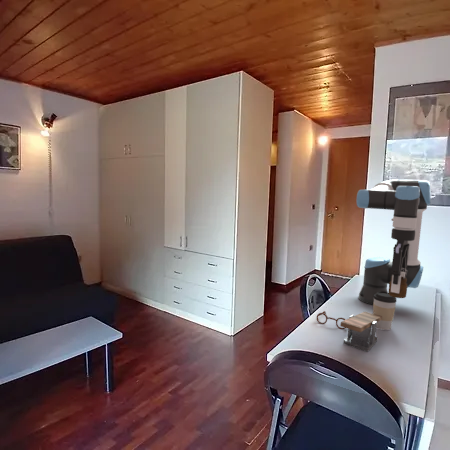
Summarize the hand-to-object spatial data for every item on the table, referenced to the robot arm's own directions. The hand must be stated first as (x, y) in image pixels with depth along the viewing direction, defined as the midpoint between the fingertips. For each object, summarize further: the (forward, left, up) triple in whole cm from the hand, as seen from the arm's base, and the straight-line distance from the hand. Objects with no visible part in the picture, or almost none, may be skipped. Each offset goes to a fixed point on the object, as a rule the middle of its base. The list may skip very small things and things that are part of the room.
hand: (397, 290), depth 121 cm
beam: (+4, -10, -14) cm, 18 cm away
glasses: (-8, -25, -23) cm, 35 cm away
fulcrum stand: (+4, -10, -22) cm, 25 cm away
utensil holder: (0, 0, -2) cm, 2 cm away
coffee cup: (-18, -8, -23) cm, 30 cm away
